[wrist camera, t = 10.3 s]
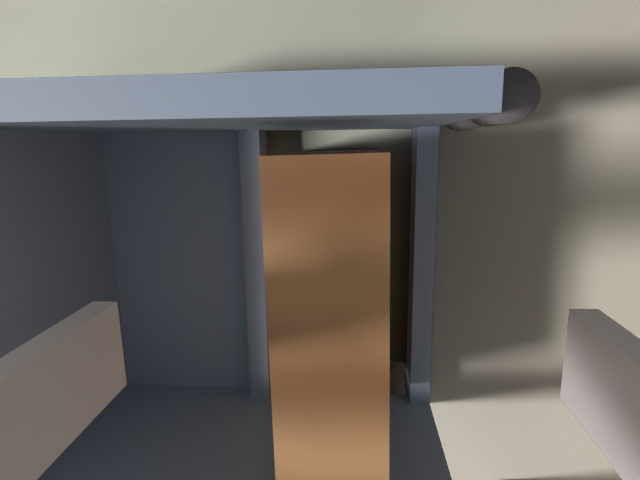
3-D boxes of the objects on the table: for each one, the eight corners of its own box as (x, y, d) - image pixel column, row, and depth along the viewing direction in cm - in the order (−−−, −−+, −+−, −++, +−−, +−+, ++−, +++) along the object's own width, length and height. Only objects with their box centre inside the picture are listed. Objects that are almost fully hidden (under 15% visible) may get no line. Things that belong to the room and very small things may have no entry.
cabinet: (451, 404, 26) (521, 588, 15) (116, 395, 27) (-37, 557, 17) (466, 98, 23) (568, 54, 12) (84, 106, 24) (-135, 74, 13)
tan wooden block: (297, 151, 24) (258, 155, 14) (394, 149, 23) (424, 151, 14) (305, 365, 26) (276, 496, 16) (393, 366, 26) (417, 501, 16)
